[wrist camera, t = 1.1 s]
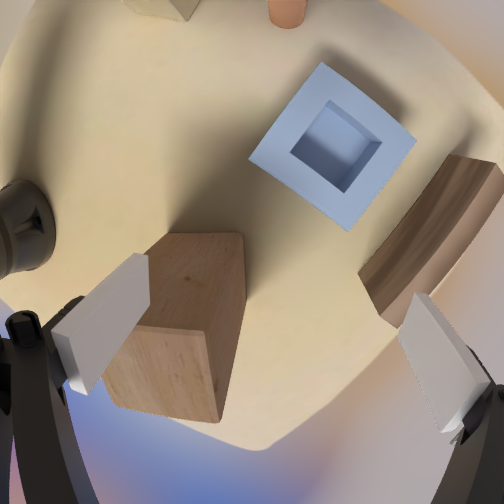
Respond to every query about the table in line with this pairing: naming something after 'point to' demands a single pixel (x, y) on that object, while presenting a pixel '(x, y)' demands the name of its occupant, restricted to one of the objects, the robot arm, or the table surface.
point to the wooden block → (184, 329)
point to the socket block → (333, 146)
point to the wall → (432, 235)
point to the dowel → (287, 12)
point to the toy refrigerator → (164, 8)
